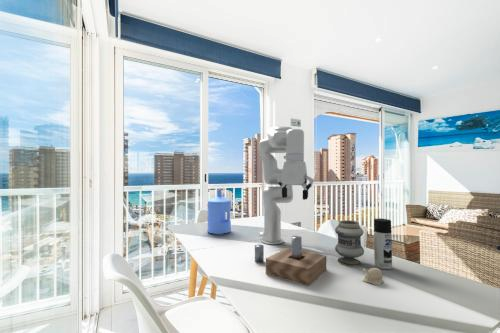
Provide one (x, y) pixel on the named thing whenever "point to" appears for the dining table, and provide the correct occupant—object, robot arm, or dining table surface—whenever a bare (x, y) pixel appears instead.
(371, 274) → the decorative ornament
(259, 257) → the short pin
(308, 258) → the hole block
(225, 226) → the water jug
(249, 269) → the dining table surface
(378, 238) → the spray can
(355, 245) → the apothecary jar
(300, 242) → the tall pin
